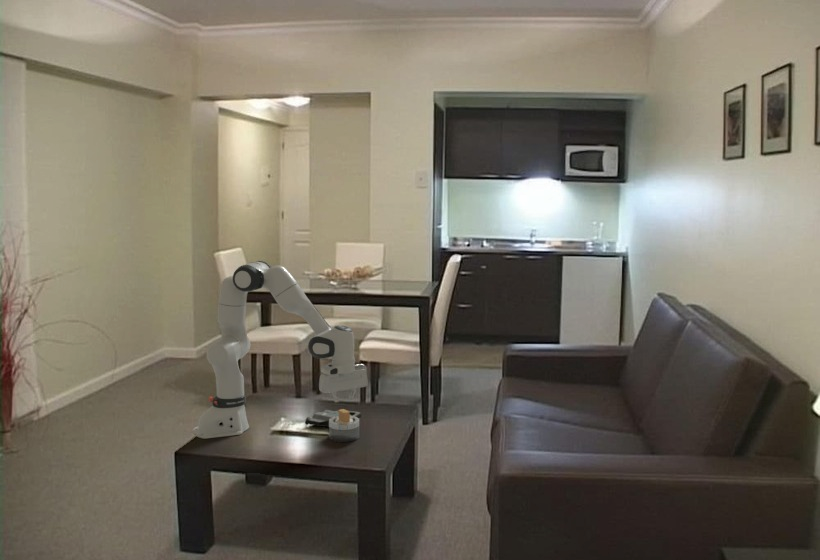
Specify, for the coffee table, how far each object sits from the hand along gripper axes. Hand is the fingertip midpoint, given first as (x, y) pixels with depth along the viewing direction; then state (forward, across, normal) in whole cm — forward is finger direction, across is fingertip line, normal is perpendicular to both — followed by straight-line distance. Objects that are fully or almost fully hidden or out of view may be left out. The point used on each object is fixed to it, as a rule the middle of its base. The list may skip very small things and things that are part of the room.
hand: (344, 400), depth 300 cm
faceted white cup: (+15, 0, 0) cm, 15 cm away
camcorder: (+15, -5, -16) cm, 23 cm away
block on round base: (+10, 0, 0) cm, 10 cm away
